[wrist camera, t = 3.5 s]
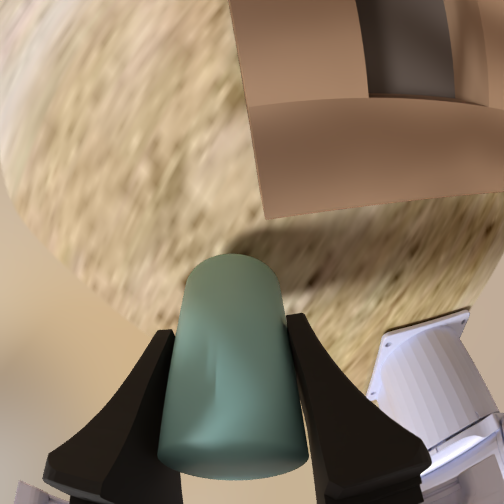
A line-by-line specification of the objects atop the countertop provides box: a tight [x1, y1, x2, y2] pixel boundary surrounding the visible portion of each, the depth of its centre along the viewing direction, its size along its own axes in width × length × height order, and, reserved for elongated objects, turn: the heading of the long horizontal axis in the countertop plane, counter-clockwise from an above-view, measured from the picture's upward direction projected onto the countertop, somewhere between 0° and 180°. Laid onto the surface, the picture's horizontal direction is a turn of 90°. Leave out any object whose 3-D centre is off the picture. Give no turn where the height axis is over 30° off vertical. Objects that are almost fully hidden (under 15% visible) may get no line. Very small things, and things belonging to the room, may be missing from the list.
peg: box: [157, 254, 309, 480], centre depth 10 cm, size 4×4×8 cm
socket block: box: [228, 0, 504, 220], centre depth 8 cm, size 14×14×3 cm
